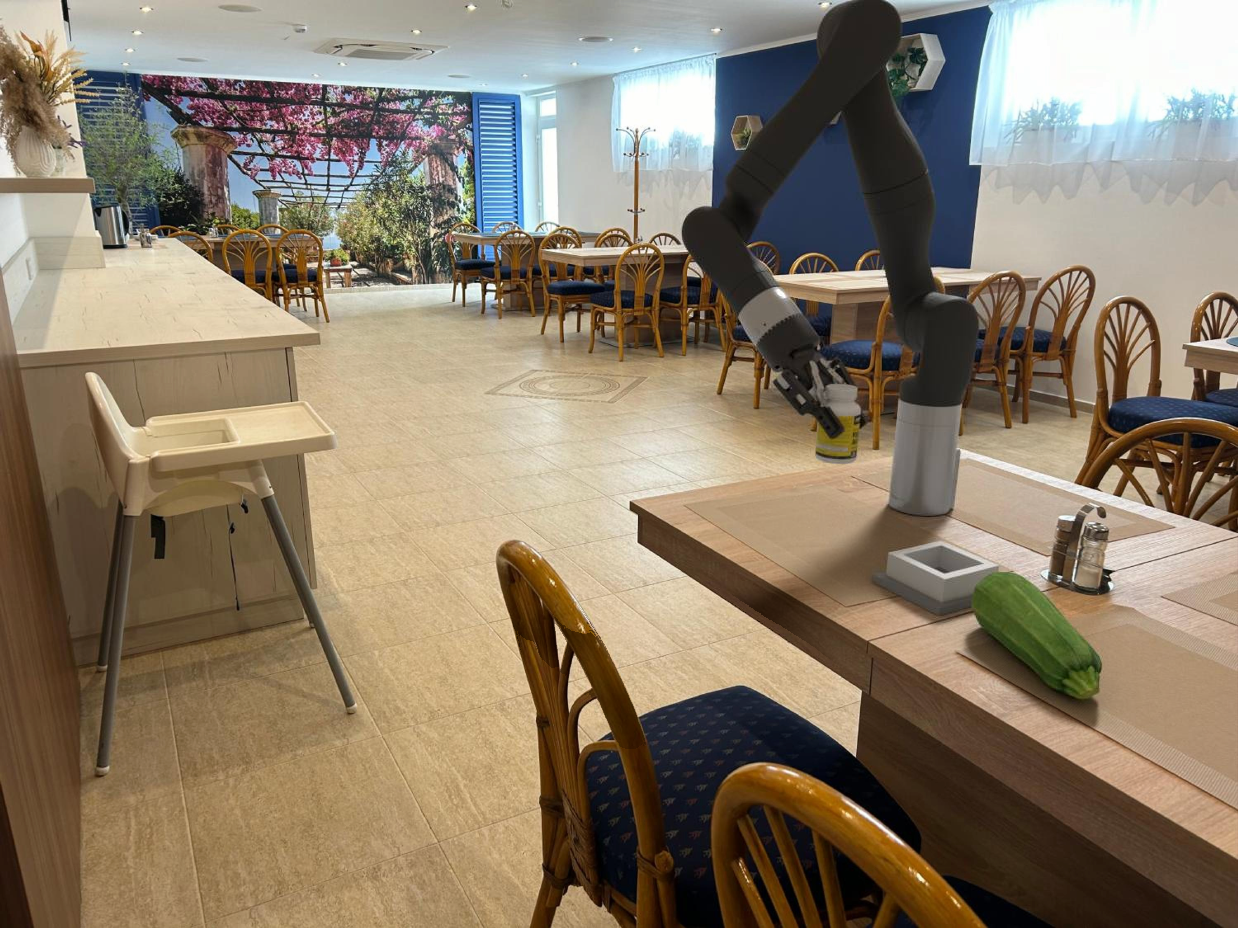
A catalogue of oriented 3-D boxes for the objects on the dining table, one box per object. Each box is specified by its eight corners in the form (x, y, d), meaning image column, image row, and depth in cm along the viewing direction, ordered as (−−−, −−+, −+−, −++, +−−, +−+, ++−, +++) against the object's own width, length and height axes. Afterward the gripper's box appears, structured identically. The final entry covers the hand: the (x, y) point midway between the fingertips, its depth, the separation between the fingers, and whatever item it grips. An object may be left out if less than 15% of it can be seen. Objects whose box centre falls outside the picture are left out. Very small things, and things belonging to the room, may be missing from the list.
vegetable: (1010, 551, 102) (1120, 635, 83) (1029, 601, 105) (1141, 694, 86) (952, 579, 103) (1048, 669, 84) (972, 629, 105) (1070, 727, 86)
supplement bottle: (857, 466, 116) (863, 392, 113) (814, 463, 117) (820, 390, 114) (855, 454, 121) (861, 383, 118) (814, 452, 122) (819, 381, 120)
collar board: (940, 564, 120) (943, 536, 119) (1009, 596, 111) (1013, 565, 110) (872, 581, 115) (874, 552, 113) (938, 615, 105) (942, 584, 104)
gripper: (765, 316, 114) (842, 424, 109) (824, 306, 124) (897, 405, 119) (729, 353, 119) (802, 458, 114) (789, 340, 129) (858, 436, 124)
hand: (850, 430), depth 117 cm, fingers closed on supplement bottle, 5 cm apart
